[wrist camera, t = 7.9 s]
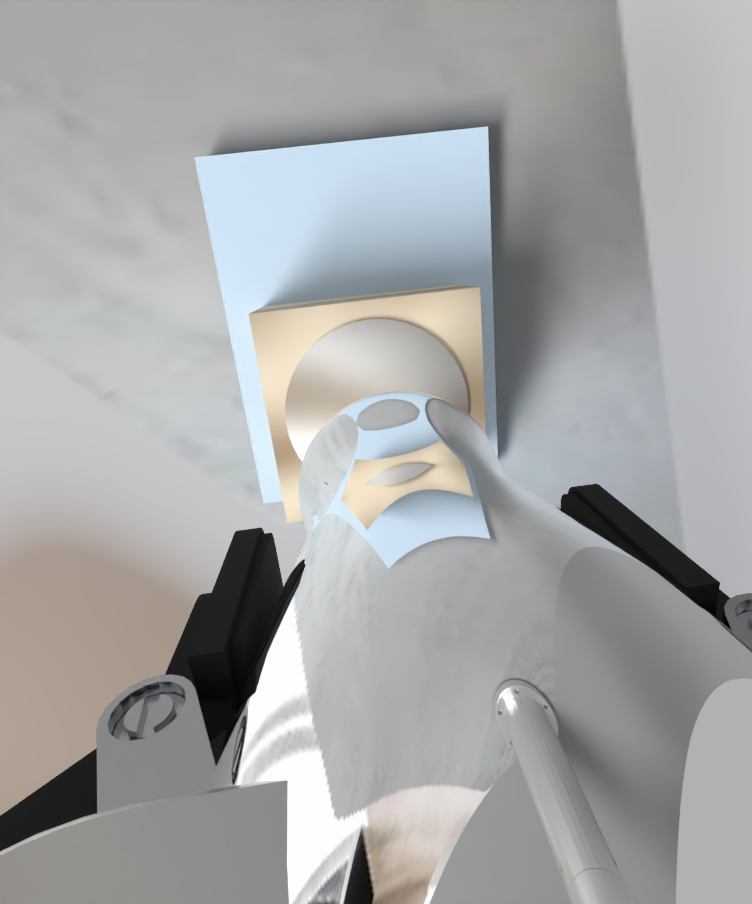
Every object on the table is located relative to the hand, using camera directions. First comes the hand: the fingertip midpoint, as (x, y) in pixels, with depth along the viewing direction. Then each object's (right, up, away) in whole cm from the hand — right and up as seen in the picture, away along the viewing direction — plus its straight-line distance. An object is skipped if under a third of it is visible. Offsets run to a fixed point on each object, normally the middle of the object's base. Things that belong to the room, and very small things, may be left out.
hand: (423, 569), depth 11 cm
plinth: (-1, +6, +17) cm, 18 cm away
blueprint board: (-2, +9, +17) cm, 20 cm away
